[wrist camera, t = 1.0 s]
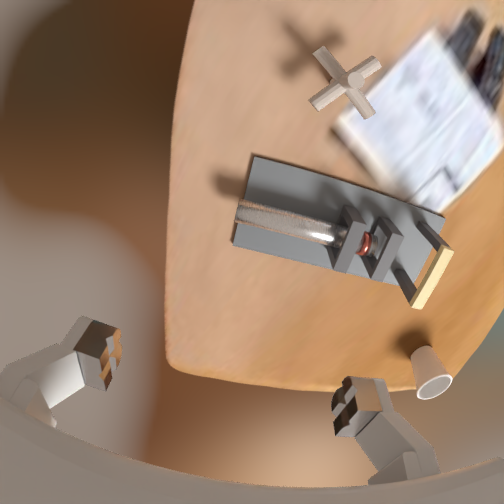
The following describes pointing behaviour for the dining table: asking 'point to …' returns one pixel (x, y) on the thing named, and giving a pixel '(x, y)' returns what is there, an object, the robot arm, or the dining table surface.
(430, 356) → the dixie cup
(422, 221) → the collar board
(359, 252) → the tube
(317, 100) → the pipe connector
